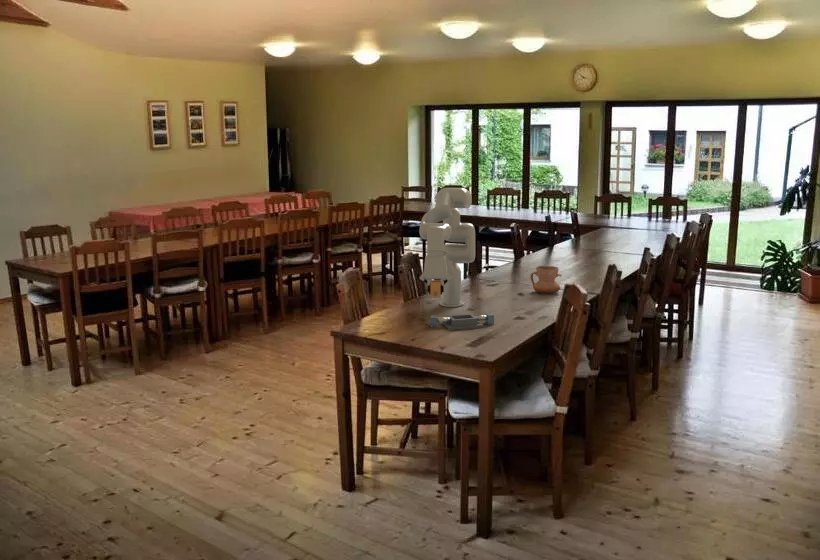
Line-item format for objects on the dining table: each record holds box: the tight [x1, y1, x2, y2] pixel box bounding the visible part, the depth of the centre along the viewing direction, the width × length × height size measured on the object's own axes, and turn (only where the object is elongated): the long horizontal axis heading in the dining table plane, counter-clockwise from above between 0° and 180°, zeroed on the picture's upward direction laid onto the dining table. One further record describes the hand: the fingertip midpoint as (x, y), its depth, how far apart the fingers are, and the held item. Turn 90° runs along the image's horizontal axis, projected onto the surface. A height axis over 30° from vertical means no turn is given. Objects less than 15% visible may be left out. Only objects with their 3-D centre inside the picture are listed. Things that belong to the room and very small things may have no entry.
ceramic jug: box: [529, 265, 563, 295], centre depth 391 cm, size 18×14×14 cm
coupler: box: [430, 279, 442, 299], centre depth 318 cm, size 4×8×7 cm, turn 176°
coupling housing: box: [441, 313, 484, 331], centre depth 327 cm, size 11×16×4 cm
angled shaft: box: [429, 315, 450, 328], centre depth 327 cm, size 9×4×4 cm, turn 80°
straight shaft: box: [474, 312, 495, 326], centre depth 330 cm, size 9×4×4 cm, turn 105°
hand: (435, 293), depth 318 cm, fingers closed on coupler, 4 cm apart
